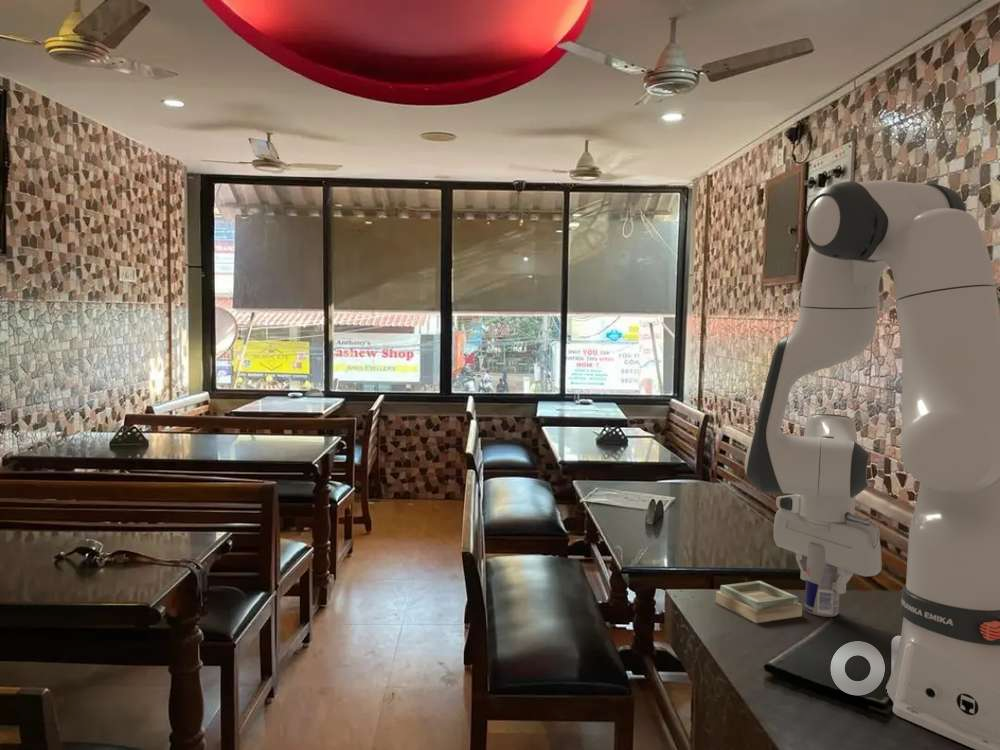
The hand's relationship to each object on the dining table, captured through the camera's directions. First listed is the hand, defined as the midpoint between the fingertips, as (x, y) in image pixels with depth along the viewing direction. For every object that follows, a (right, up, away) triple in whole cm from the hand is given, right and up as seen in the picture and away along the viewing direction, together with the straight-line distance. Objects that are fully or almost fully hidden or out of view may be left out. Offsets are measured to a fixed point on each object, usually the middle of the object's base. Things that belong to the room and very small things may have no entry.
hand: (822, 586), depth 124 cm
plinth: (-11, -4, 0) cm, 12 cm away
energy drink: (0, -5, 0) cm, 5 cm away
